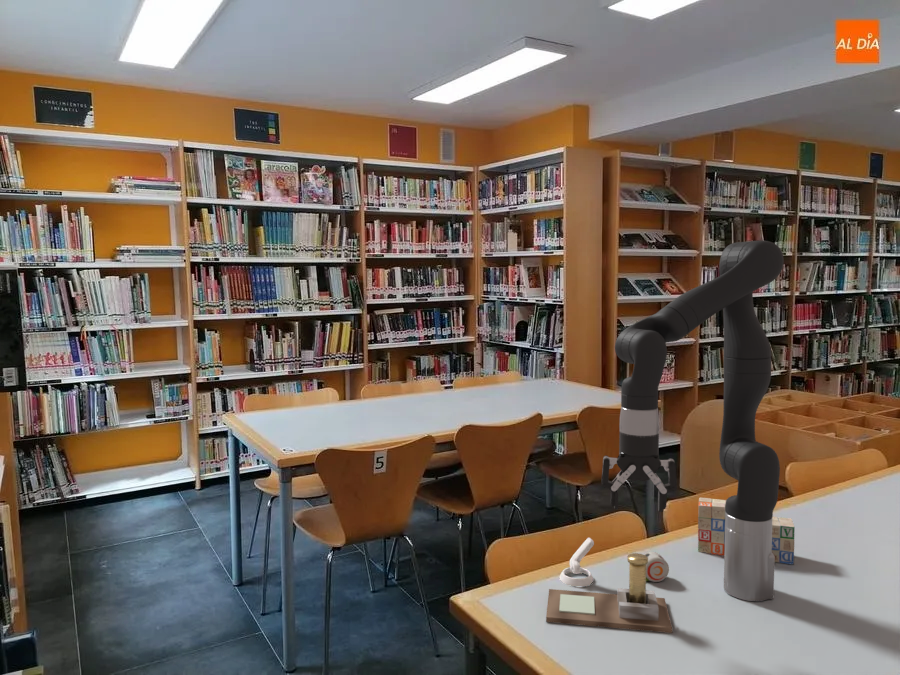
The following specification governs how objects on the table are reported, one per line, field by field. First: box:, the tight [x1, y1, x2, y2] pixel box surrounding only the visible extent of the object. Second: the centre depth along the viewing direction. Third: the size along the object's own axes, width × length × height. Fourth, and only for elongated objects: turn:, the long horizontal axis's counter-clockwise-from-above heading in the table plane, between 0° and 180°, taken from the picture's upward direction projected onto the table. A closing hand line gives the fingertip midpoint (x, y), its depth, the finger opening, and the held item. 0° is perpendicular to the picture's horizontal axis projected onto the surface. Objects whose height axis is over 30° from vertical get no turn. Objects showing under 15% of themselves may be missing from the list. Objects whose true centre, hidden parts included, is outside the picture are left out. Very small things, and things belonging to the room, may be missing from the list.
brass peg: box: [627, 552, 648, 604], centre depth 131 cm, size 4×4×11 cm
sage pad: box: [559, 594, 595, 615], centre depth 134 cm, size 7×7×1 cm
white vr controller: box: [559, 537, 595, 587], centre depth 147 cm, size 8×12×7 cm
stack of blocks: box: [697, 497, 795, 565], centre depth 160 cm, size 21×6×12 cm, turn 68°
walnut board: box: [545, 587, 673, 634], centre depth 133 cm, size 24×12×4 cm, turn 79°
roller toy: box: [643, 551, 670, 583], centre depth 147 cm, size 4×6×6 cm
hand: (637, 509), depth 130 cm, fingers open, 8 cm apart
